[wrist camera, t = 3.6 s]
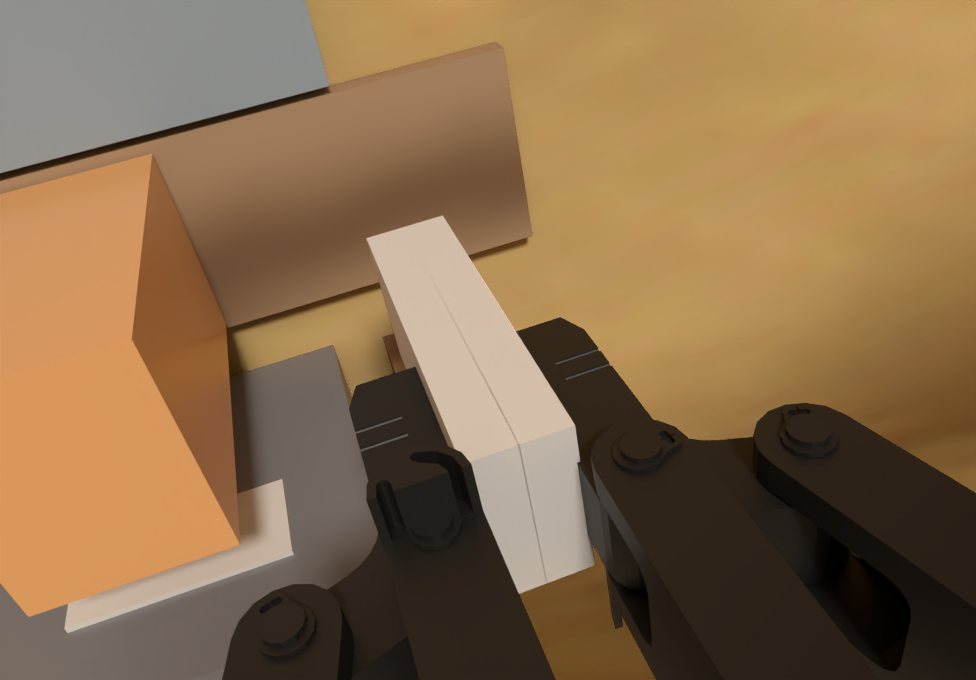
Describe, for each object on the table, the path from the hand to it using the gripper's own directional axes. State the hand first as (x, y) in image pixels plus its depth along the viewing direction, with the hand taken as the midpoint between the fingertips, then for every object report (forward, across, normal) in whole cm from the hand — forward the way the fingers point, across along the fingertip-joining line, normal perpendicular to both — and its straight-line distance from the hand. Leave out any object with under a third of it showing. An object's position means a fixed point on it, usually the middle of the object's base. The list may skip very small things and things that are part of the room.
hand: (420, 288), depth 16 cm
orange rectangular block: (+7, -7, -1) cm, 10 cm away
